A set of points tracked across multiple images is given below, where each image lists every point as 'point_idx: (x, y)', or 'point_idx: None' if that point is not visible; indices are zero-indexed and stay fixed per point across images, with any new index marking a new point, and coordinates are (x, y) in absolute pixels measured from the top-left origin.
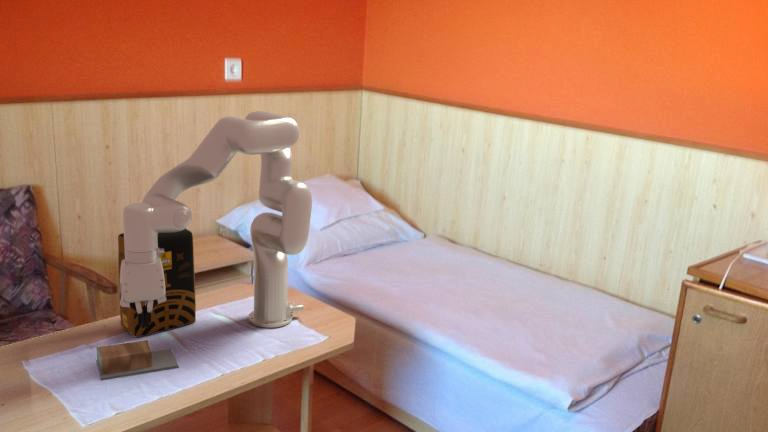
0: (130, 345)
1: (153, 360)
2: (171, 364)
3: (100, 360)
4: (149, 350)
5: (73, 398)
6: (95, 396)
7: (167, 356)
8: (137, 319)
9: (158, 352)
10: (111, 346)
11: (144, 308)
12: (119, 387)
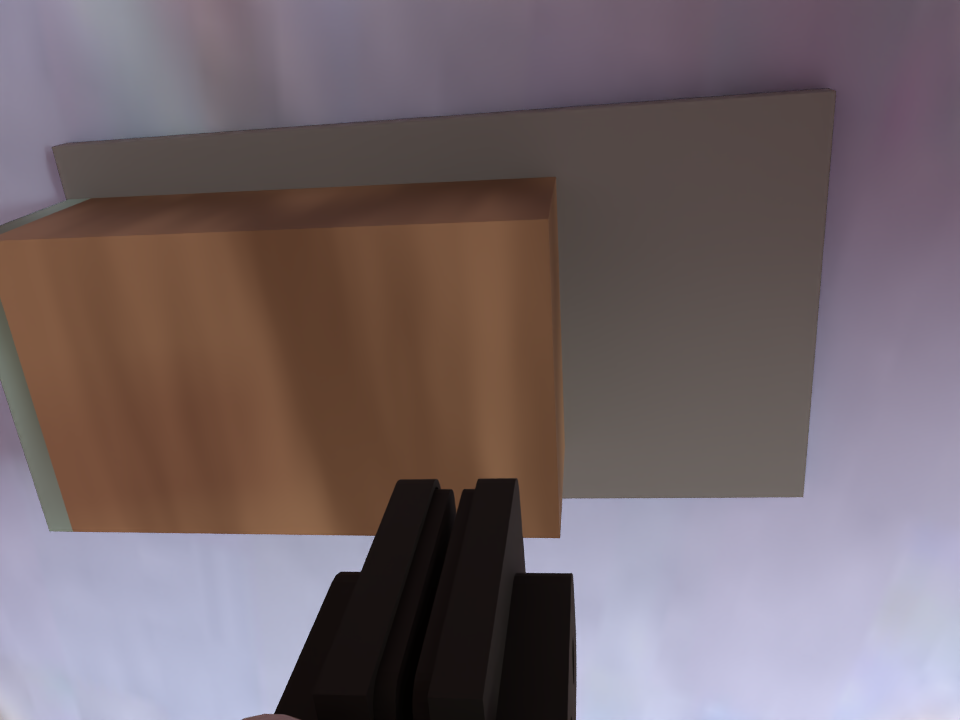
0: (335, 317)
1: (592, 333)
2: (743, 461)
3: (67, 525)
4: (539, 505)
5: (23, 651)
6: (155, 673)
7: (746, 289)
8: (326, 602)
9: (673, 160)
10: (121, 276)
11: (437, 713)
12: (301, 622)
